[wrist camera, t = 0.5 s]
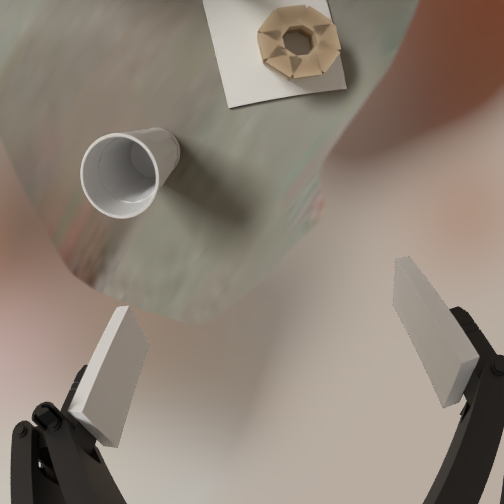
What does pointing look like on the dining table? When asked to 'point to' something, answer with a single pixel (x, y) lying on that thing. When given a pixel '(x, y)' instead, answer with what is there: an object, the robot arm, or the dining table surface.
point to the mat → (248, 55)
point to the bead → (309, 26)
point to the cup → (128, 170)
